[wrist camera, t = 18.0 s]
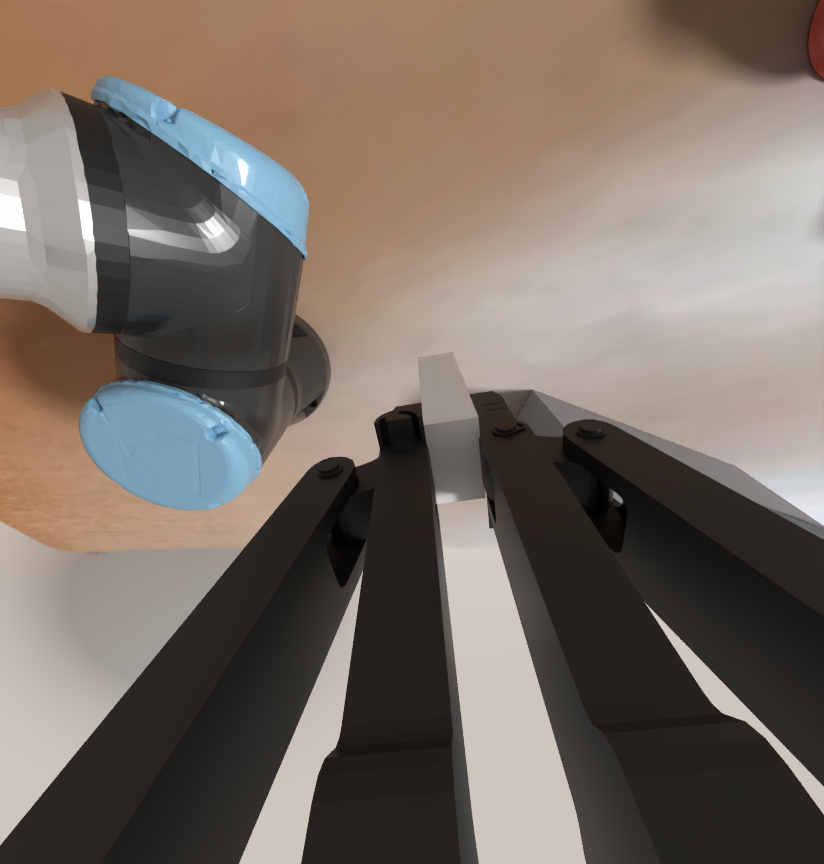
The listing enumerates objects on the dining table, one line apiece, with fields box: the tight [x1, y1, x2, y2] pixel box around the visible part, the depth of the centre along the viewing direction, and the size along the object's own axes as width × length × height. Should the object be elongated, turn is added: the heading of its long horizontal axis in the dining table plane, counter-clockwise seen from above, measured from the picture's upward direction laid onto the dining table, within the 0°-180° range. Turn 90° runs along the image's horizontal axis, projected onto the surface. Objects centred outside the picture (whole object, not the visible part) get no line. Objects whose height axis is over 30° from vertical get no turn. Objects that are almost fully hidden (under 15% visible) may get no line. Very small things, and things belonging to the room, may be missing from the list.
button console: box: [516, 390, 824, 539], centre depth 46 cm, size 10×34×14 cm, turn 69°
